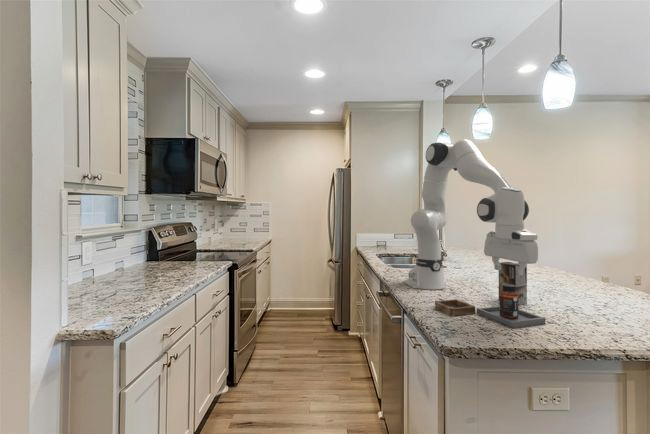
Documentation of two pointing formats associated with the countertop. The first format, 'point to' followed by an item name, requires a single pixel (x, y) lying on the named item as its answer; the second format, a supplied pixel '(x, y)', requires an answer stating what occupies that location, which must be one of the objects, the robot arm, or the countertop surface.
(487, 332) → the countertop surface
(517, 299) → the supplement bottle
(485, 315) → the charcoal tray
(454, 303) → the walnut holder
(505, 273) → the coffee box
